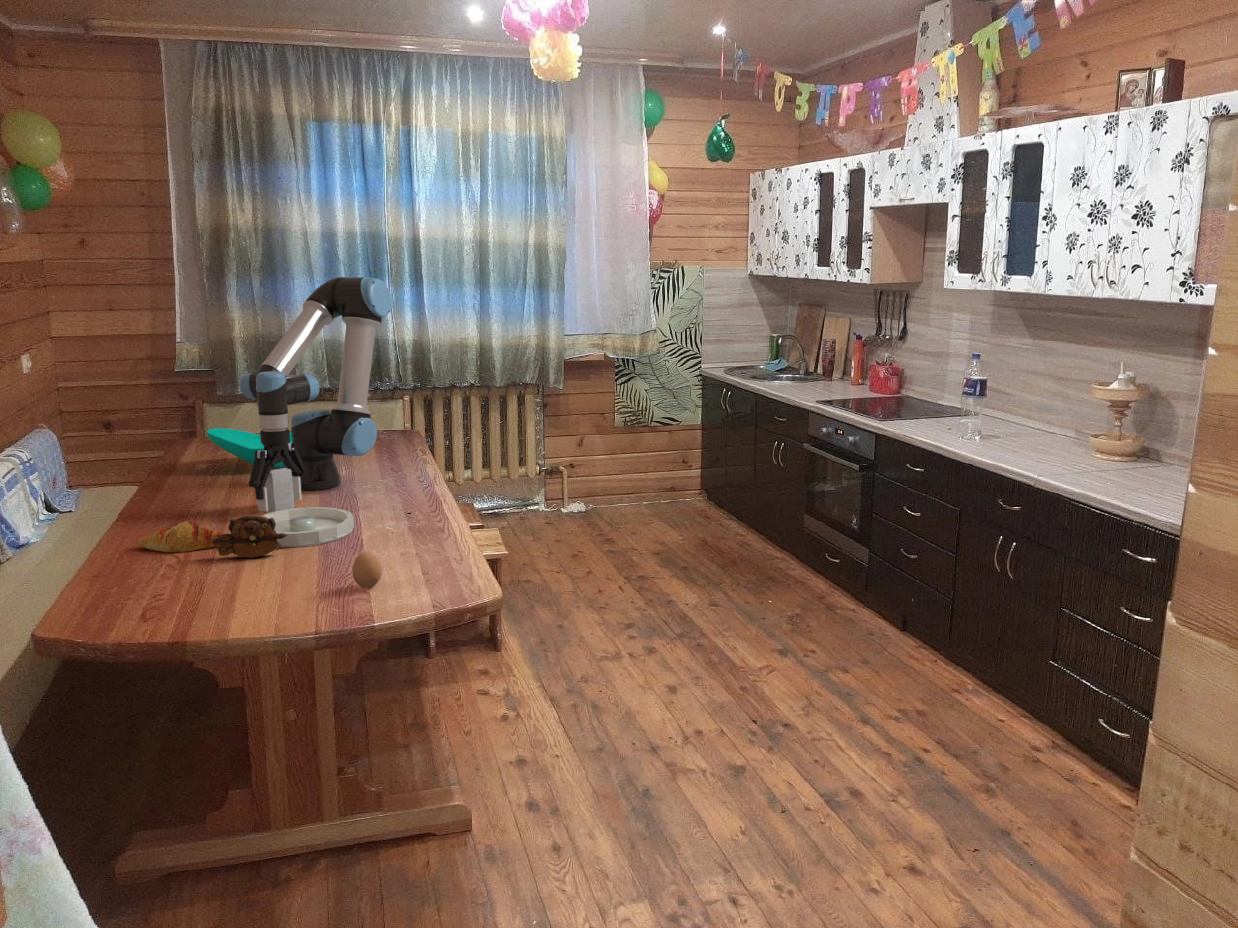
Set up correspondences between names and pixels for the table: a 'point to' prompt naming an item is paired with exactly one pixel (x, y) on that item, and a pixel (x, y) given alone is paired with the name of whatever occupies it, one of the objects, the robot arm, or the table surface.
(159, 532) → the croissant
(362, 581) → the egg
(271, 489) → the skincare box
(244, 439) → the table top decor
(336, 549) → the table surface
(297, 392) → the robot arm
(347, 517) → the ring tray
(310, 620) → the table surface
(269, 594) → the table surface
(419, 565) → the table surface
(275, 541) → the wooden carving
